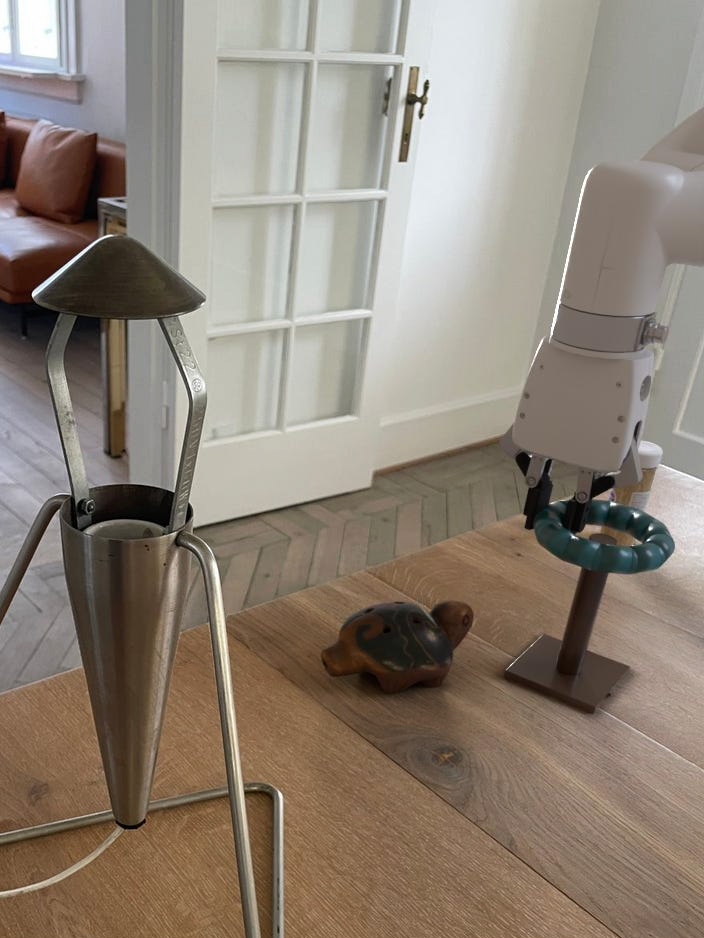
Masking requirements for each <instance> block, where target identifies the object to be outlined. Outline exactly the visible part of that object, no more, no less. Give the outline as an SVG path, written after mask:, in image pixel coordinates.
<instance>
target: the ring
mask: <svg viewBox="0 0 704 938" xmlns="http://www.w3.org/2000/svg"><path fill="white" fill-rule="evenodd" d="M570 499H571V498H569V499H563V500H556V501H552V502H551V503H549V505H548V506H547V507H545V508H544V509H543V510H541V511H540V512H539V513H538V514H537V515H536V516H535V518H534V520H533V527H534V529H533V531H534V534H535V538H536V541H537V543H538V544H539V546H540V547H542V548H543V549H544V550H546V551H547V552H549V553H550V554H552V555H553V556H554V557H556V558H557V559H559V560H560V561H562V562H564V563H568V564H571V565H573V566H576V567H579V568H581V567H582V568H585V569H588V570H591V571H596V572H605V573H609V574H617V575H624V576H625V575H627V576H628V575H629V576H630V575H634V574H640V573H645V572H651V571H655V570H658V569H659V568H661V567H662V566H663V565H664V564H665V563H666V562H667V561H668V559H669V558H670V557H672V555H673V554H674V553H675V550H676V543H675V540H674V538H673V536H672V534H671V533H670V531H669V529H668V527H667V526H666V524H665V523H664V522H662V521H660V520H659V519H658V518H655V517H654V516H652V515H650V514H649V513H647V512H645V511H642V510H640V509H636V508H633V507H630V506H626V505H623V504H620V503H616V502H613V501H608V499H607V500H606V499H596V498H593V499H592V503H591V507H590V511H589V514H588V518H587V522H586V525H585V526H595V527H596V526H597V527H601V526H604V527H607V528H610V529H614V530H617V531H620V532H623V533H626V534H629V535H630V536H632V537H633V538H635V541H638V542H639V544H634V545H632V546H619V545H610V544H600V543H597V542H594V541H591V540H589V538H584V537H582V536H578V535H577V534H575V535H574V534H573V533H571V532H570V531H568V530H567V529H565V528H564V527H563V526H562V522H563V518H564V514H565V510H566V506H567V503H568V501H569V500H570Z"/></svg>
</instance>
